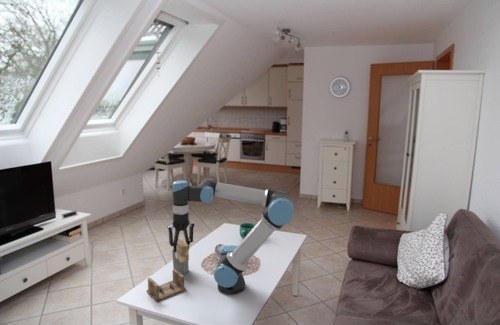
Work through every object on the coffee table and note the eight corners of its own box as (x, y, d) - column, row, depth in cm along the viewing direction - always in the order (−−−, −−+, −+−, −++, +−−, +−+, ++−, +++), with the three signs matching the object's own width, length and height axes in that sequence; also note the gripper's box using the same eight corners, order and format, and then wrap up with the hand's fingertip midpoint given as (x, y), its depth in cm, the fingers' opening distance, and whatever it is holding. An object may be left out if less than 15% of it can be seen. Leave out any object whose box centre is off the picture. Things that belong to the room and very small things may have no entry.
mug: (245, 233, 259) (245, 221, 258) (259, 236, 253) (259, 224, 252) (233, 240, 245) (233, 228, 244) (248, 244, 239) (248, 231, 237)
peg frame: (186, 290, 181) (185, 276, 179) (156, 302, 170) (156, 287, 168) (175, 281, 190) (174, 268, 188) (146, 291, 179) (145, 278, 177)
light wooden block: (182, 252, 175) (182, 238, 173) (188, 260, 166) (188, 245, 165) (174, 254, 173) (174, 239, 171) (180, 262, 164) (180, 247, 163)
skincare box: (183, 276, 195) (183, 250, 192) (172, 275, 196) (171, 249, 193) (189, 269, 203) (188, 244, 200) (178, 268, 204) (177, 243, 202)
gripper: (194, 207, 172) (195, 250, 177) (161, 212, 164) (162, 257, 168) (200, 212, 166) (200, 256, 170) (165, 217, 158) (166, 263, 162)
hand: (181, 256), depth 169 cm, fingers closed on light wooden block, 4 cm apart
